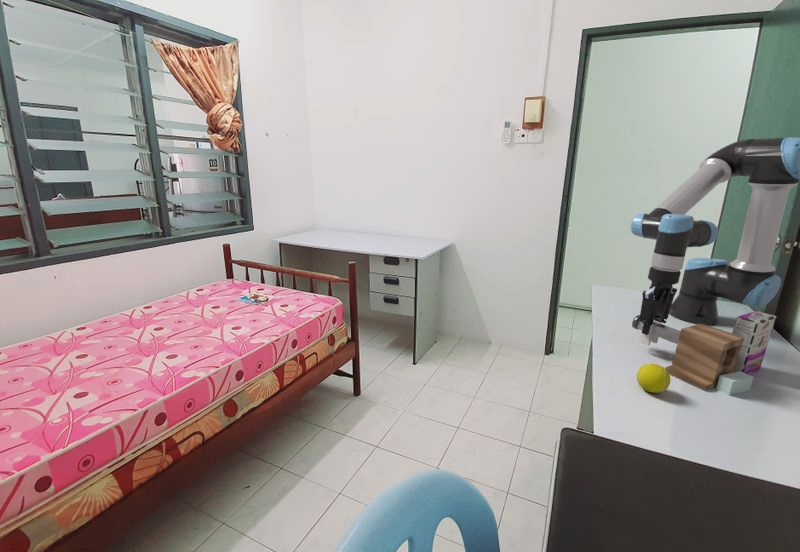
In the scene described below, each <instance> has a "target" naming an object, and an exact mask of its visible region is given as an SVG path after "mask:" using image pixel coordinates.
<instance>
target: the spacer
mask: <svg viewBox="0 0 800 552" xmlns="http://www.w3.org/2000/svg"><path fill="white" fill-rule="evenodd" d="M753 380H754V376H752V375H750V374H746V373H743V372H741V371H740V372H735V373H730V374H725V375H721V376H720V377H719V381H718V384H717V386H715V387H716V388H715V389H716V390H718V391H720V392H722V393H723V394H724V395H725V394H726V395H727V396H732V395H737V394H740V393H745V392H748V391H750V390H751V386H752V385H753V382H754V381H753Z"/></svg>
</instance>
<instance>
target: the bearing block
mask: <svg viewBox="0 0 800 552" xmlns="http://www.w3.org/2000/svg"><path fill="white" fill-rule="evenodd" d="M680 331H681V332H680V336H679V340H678V343H677V344H676V348H675V352H674V355H673V359H672V363H671V365H667V366H666V367H664V368H665V369H666V370H667V371H668V373H669V375H670V376H672V377H673V378H676V379H679V380H681V381H683V382H685V383H687V384H689V385H691V386H694V387H695V388H698V389H700V390H702V391H708V390H711V389H713V388H715V387H717V384H718V381H719V377H720V376H721V375H725V374H730V373H735V371H734V369H735V366H736V363H737V360H738V357H739V353H740V350H741V347H742V344H743V341H744V337H741V336H738V335H735V334H732V333H733V332H732V333H731V332H728V331H726V330H722V329H719V328H717V327H715V326H714V327H713V326H712V325H711V326H710V325H709V324H702V323H701V324H698V323H696V324H694V325H691V326H687V327H683V328H680Z"/></svg>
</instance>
